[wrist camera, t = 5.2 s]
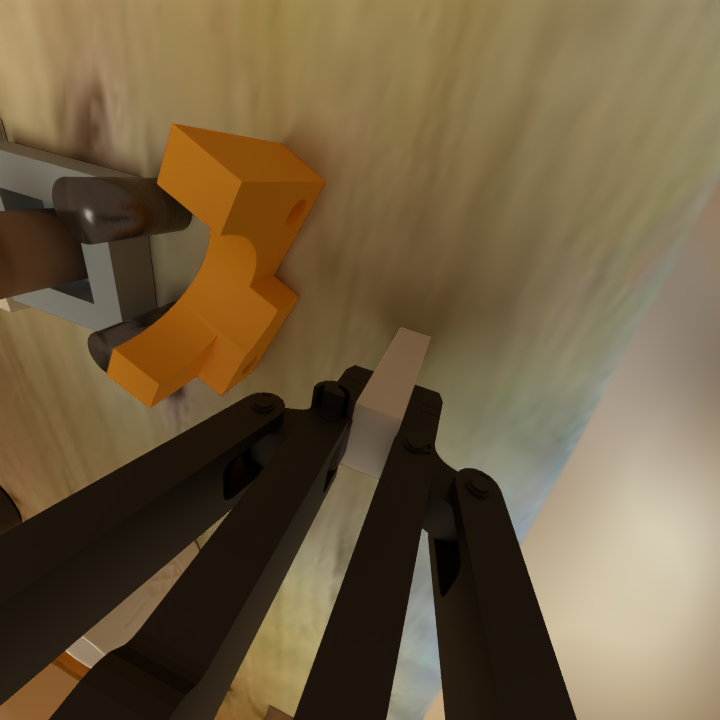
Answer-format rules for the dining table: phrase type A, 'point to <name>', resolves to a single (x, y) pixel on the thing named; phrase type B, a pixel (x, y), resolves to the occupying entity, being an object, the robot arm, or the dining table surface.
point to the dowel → (37, 252)
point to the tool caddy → (276, 715)
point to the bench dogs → (117, 233)
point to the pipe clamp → (222, 263)
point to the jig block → (103, 261)
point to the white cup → (130, 612)
